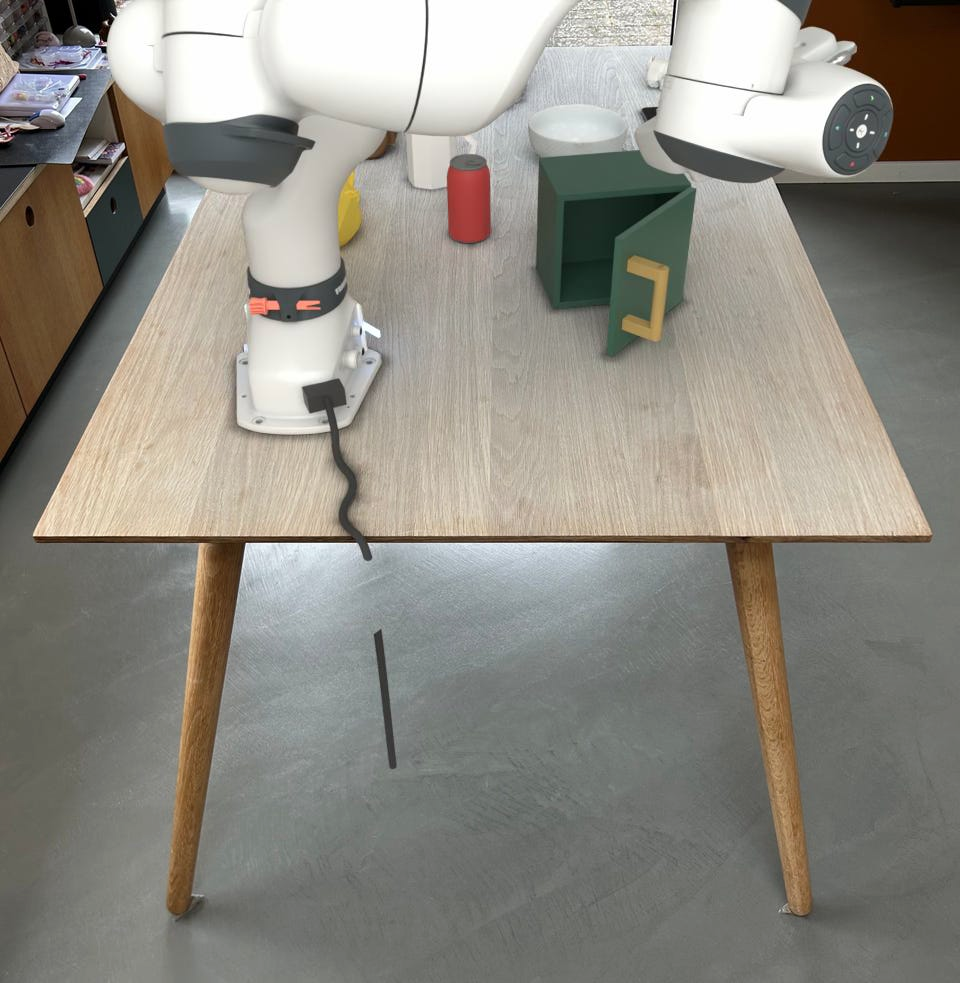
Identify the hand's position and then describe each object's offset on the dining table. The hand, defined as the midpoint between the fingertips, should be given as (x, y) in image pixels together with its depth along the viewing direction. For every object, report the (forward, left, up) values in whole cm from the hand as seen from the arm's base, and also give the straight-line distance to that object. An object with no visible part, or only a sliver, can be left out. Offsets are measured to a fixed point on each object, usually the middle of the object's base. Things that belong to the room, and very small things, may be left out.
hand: (704, 89), depth 107 cm
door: (+12, -1, -37) cm, 39 cm away
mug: (+62, +31, -37) cm, 79 cm away
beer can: (+41, +26, -37) cm, 61 cm away
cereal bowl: (+69, +8, -37) cm, 79 cm away
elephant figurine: (+105, -11, -37) cm, 112 cm away
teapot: (+41, +49, -37) cm, 74 cm away
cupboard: (+26, +6, -37) cm, 46 cm away
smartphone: (+85, -10, -37) cm, 93 cm away
